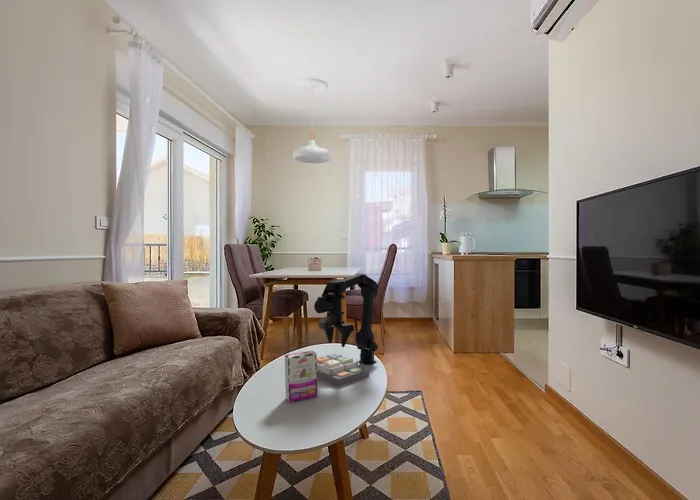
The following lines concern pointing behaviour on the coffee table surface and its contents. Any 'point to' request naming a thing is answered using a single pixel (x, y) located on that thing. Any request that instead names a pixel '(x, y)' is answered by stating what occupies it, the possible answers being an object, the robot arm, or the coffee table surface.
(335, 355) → the slate key
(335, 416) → the coffee table surface
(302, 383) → the candy bar box
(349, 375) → the keypad
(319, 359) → the peach flat square block
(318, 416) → the coffee table surface
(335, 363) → the cream key
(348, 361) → the sage key
